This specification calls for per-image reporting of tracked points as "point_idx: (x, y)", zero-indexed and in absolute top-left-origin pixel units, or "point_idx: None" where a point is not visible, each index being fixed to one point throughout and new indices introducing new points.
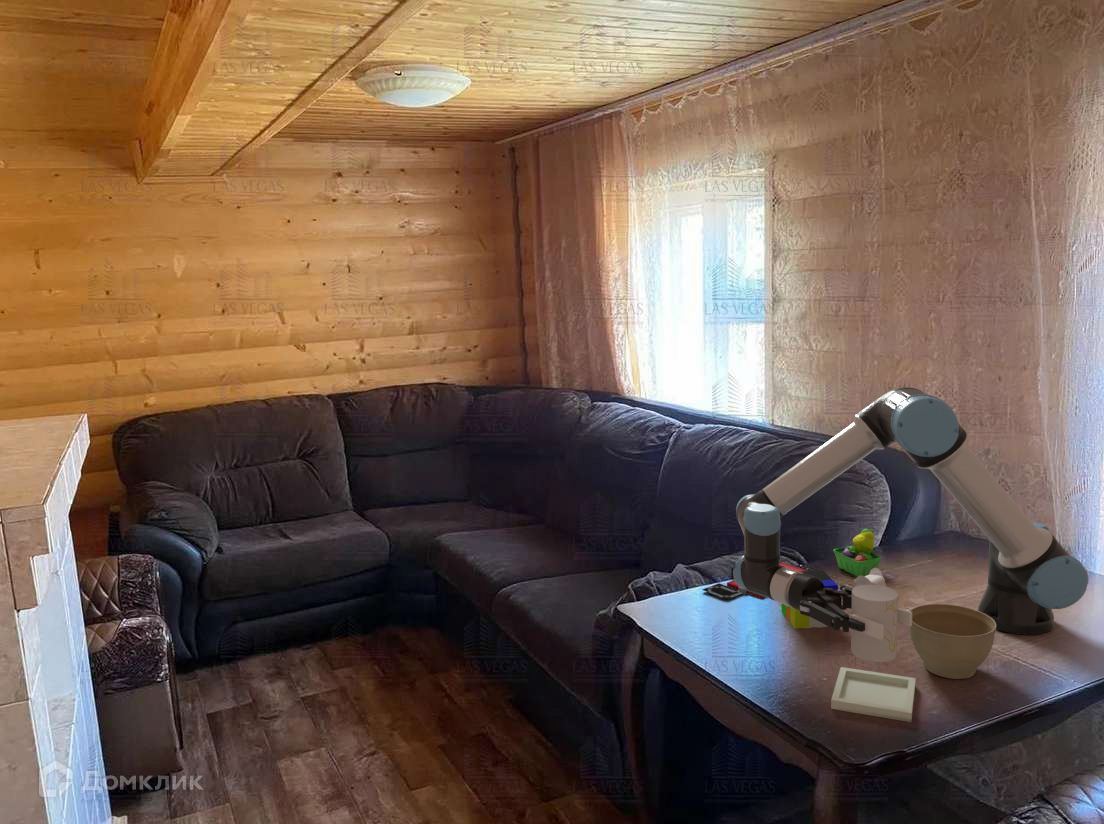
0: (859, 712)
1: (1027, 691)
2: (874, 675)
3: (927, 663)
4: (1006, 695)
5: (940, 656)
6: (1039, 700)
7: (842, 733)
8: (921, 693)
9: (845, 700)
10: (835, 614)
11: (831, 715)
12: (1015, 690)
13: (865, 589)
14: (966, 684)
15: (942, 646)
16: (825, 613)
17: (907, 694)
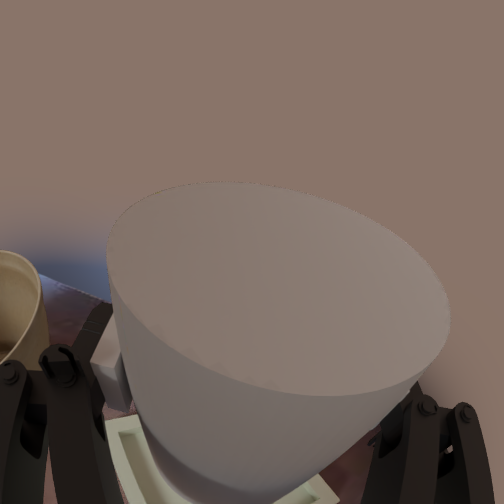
0: None
1: (44, 295)
2: (145, 501)
3: None
4: (65, 312)
5: None
6: (64, 284)
7: (372, 437)
8: (125, 414)
9: (317, 483)
10: (462, 436)
11: (348, 487)
12: (46, 305)
13: (303, 296)
14: None
15: (45, 334)
16: (487, 469)
17: None
